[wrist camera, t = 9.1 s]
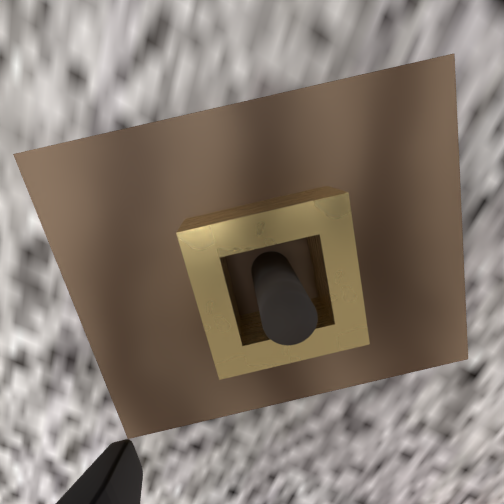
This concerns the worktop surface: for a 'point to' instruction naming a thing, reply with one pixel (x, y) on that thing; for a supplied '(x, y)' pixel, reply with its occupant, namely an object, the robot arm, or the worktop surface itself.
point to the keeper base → (266, 258)
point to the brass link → (266, 234)
